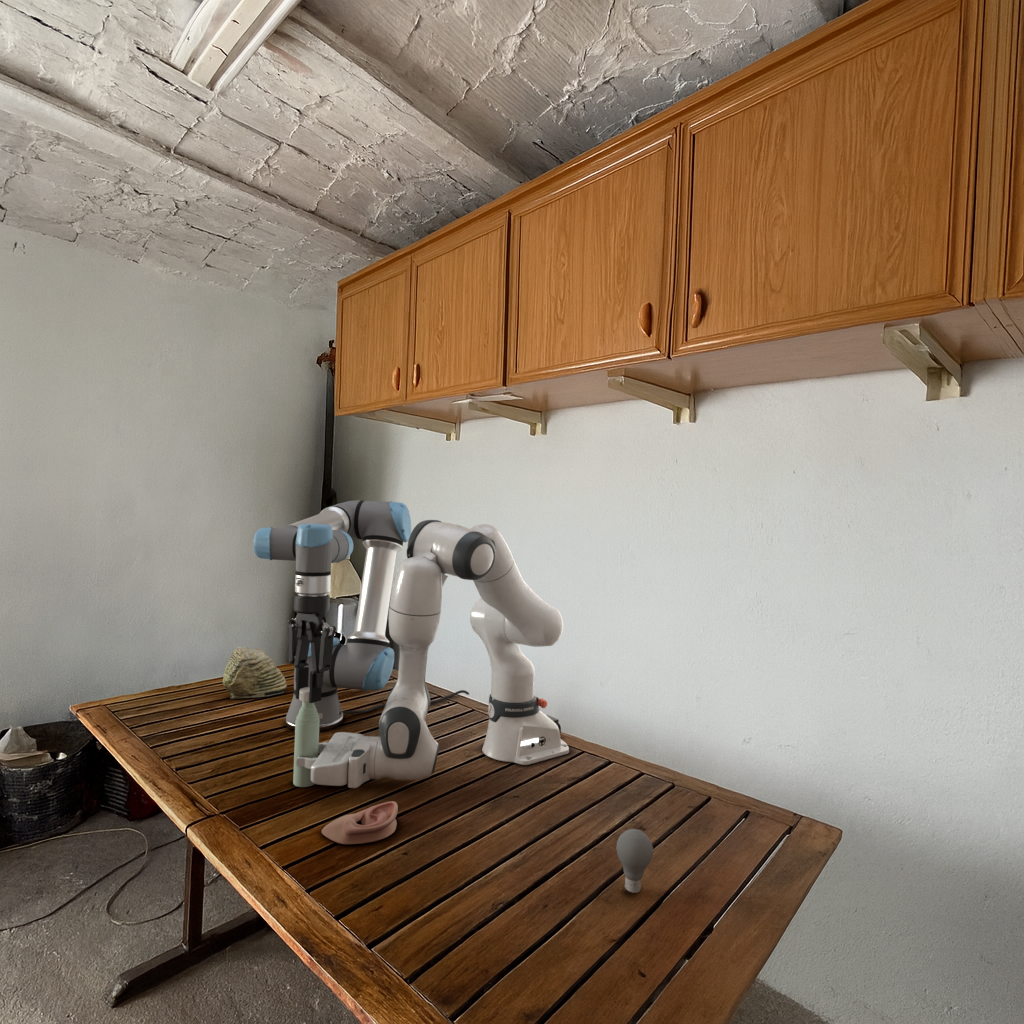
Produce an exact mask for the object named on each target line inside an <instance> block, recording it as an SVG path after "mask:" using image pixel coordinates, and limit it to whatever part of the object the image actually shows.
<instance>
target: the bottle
mask: <svg viewBox="0 0 1024 1024" xmlns="http://www.w3.org/2000/svg"><path fill="white" fill-rule="evenodd" d="M315 707H316V706H315V705H314V703H309V701H307V702H306V701H302V706H301V709H300V710H299V713H298V716H297V717H296V721H295V730H294V748H293V749H294V750H293V752H294V753H293V755H294V756H293V775H292V776H293V777H292V784H293V785H294V786H295V787H298V788H309V787H312V786H314V785H316V784H315V783H313V782H311V770H310V769H308V768H306V767H300V766H297V765H296V764H297V759H298V757H299V756H307V758H312V759H313V758H318V756H319V753H318V748H319V743H320V731H319V721H320V719H319V715H318V712H317V709H316V708H315Z"/></svg>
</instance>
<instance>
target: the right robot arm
mask: <svg viewBox="0 0 1024 1024" xmlns="http://www.w3.org/2000/svg"><path fill="white" fill-rule="evenodd" d="M448 575H449V576H453V577H458V578H459V579H462V580H464V581H465V580H466V581H473V583H474V586H475V587H476V590H477V592H478V594H479V597H480V598H479V599H478V600H476V601H475V602H474V604H473V605H472V608H471V610H470V614H469V623H470V626H471V628H472V631H473V632H474V633H476V635H477V636H478V637H479V638H480V640H481V641H482V644H484V647H485V649H486V652H487V654H488V658H489V662H490V675H491V676H490V679H491V681H490V685H491V686H490V694H489V696H488V708H487V711H488V714H487V715H488V722H487V730H486V734H485V738H484V741H483V745H482V748H481V751H482V753H483V754H484V755H485V756H487V757H489V758H491V759H493V760H497V761H501V762H509V763H515V764H518V765H522V766H528V765H532V764H536V763H539V762H540V763H541V762H544V761H547V760H550V759H553V758H557V757H561V756H564V755H568V754H569V753H570V748H569V745H568V744H567V743H566V742H565V741H564V740H563V739H562V738H561V736H562V727H561V724H560V723H559V718H556V717H553V716H551V715H549V714H546V713H544V712H543V711H541V709H540V708H542V709H546V708H547V707H548V701H547V700H545V699H544V698H539V697H538V696H537V695H535V681H536V680H535V679H536V669H535V666H534V664H533V661H531V660H530V659H529V658H528V657H527V656H525V654H524V653H523V652H522V650H521V647H520V645H522V646H526V647H527V646H529V647H534V648H537V647H538V648H539V647H540V648H543V647H552V646H554V645H555V644H556V643H558V641H559V640H560V638H561V637H562V634H563V631H564V620H563V616H562V614H561V612H560V610H559V609H558V608H556V607H555V606H552V605H551V604H549V603H547V602H546V601H545V600H544V599H542V598H541V596H539V595H538V594H537V593H536V592H534V590H533V589H532V588H531V587H530V586H529V585H528V584H527V582H526V581H525V580H524V578H523V576H522V574H521V572H520V569H519V567H518V565H517V562H516V560H515V559H514V556H513V553H512V551H511V549H510V547H509V545H508V544H507V542H506V540H505V538H504V537H503V535H502V533H500V531H499V530H498V529H497V528H496V527H495V526H493V525H490V524H488V523H487V524H485V523H482V524H477V525H474V526H472V527H471V528H468V527H466V526H462V525H460V524H457V523H456V524H454V523H450V522H445V521H444V522H443V521H441V520H438V519H426V520H422V521H419V522H418V523H417V524H416V525H415V526H414V528H413V529H412V530H411V535H410V537H409V541H408V542H407V548H406V559H404V560H403V561H402V562H401V563H400V564H399V565H398V568H397V570H396V573H395V577H394V580H393V583H392V588H391V595H390V602H389V609H388V632H389V636H390V638H391V639H392V641H393V642H394V643H395V644H396V645H398V646H399V663H398V672H397V679H396V681H395V683H394V685H393V686H392V687H391V690H390V692H389V693H388V697H387V700H386V703H385V704H386V705H385V707H383V710H382V712H381V715H380V717H379V721H378V731H379V732H378V733H379V736H370V735H364V734H363V733H362V734H361V733H356V732H348V731H347V732H346V731H339V732H338V731H337V732H335V733H334V734H333V735H332V736H331V738H330V739H329V741H323V742H319V748H318V758H313V759H312V758H307V756H299V757H298V759H297V764H296V765H297V766H300V767H306V768H308V769H310V770H311V782H313V783H315V784H314V785H320V786H331V787H342V786H345V785H347V788H349V789H357V788H359V787H360V786H361V785H362V784H364V783H366V782H368V781H370V780H380V779H385V778H386V779H391V780H395V781H418V780H426V779H428V778H430V777H431V776H432V775H433V774H434V773H435V769H436V766H437V761H438V757H439V753H440V752H439V751H440V745H439V742H437V741H436V739H435V738H434V736H433V735H432V733H431V731H430V729H429V727H428V725H427V721H426V718H427V715H428V713H429V711H430V708H431V704H430V701H431V695H430V692H429V689H428V686H427V682H426V674H427V673H426V672H427V663H428V653H429V649H430V647H431V645H432V643H433V642H434V641H435V639H436V635H437V632H438V629H439V625H440V620H441V615H442V605H443V588H444V585H445V582H446V580H447V578H448V577H449V576H448ZM560 733H561V734H560Z"/></svg>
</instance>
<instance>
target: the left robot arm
mask: <svg viewBox="0 0 1024 1024" xmlns="http://www.w3.org/2000/svg"><path fill="white" fill-rule="evenodd" d="M411 533H412V518H411V515H410V510H409V508H408V506H407V505H406V504H405V503H403V502H400V501H399V502H397V501H392V500H389V501H385V500H383V501H382V500H380V501H379V500H362V499H356V500H355V499H354V500H348V501H344V502H340V503H337V504H333V505H330V506H328V507H325V508H323V509H322V510H321V511H320V512H319V513H318V514H315V515H313V516H310V517H307V518H304V519H302V520H298V521H295V522H293V523H290V524H287V525H284V526H281V527H273V526H270V527H261V528H259V529H257V531H256V532H255V534H254V536H253V540H252V541H253V542H252V543H253V544H252V545H253V547H252V548H253V553H254V554H255V556H256V557H257V558H258V559H263V560H269V561H290V562H291V561H295V572H294V574H295V576H294V577H295V579H294V592H295V593H296V594H295V595H294V596H293V598H294V599H293V611H294V612H295V613H296V616H295V618H291V619H288V620H287V621H286V624H287V629H288V663H289V665H293V667H294V670H293V671H294V672H293V695H292V696H293V697H292V699H291V702H290V704H289V708H288V711H287V713H286V715H285V726H286V728H287V729H289V730H291V731H295V721H296V717H297V716H298V713H299V710H300V709H301V706H302V701H301V700H299V691H300V689H301V688H305V687H310V690H309V703H314V705H315V706H316V707H315V708H316V709H317V712H318V715H319V719H320V721H319V732H325V731H329V730H332V729H335V728H337V727H339V726H340V725H342V723H343V722H344V715H352V714H353V715H355V714H365V713H369V712H372V711H374V710H376V709H380V708H385V705H386V703H382V704H377V705H374V706H373V707H370V708H367V709H362V710H343V709H342V706H341V702H340V699H339V695H338V689H348V690H360V691H366V692H368V691H380V690H382V689H383V688H384V687H385V686H386V685H387V684H388V682H389V680H390V678H391V675H392V673H393V670H394V664H395V651H394V649H393V648H391V647H390V640H389V639H388V638H387V637H386V632H387V631H386V630H387V622H388V617H389V606H390V599H391V593H392V588H393V582H394V580H393V579H394V572H395V566H396V559H397V554H398V553H399V552H400V551H402V550H403V547H404V546H403V545H404V543H408V541H409V537H410V535H411ZM353 540H362V546H363V547H364V548H365V550H366V552H365V558H364V565H363V571H362V578H361V584H360V591H359V597H358V602H357V603H358V604H357V611H356V617H355V624H354V628H353V629H354V630H353V632H352V633H351V634H350V635H349V636H348V637H347V638H346V644H341V641H340V639H339V638H338V637H334V636H335V634H336V631H337V627H336V625H330V624H329V623H328V619H327V613H328V612H329V611H330V607H331V606H330V605H331V596H330V594H329V593H331V587H332V585H331V582H332V564H334V563H338V564H339V563H340V562H341V563H342V562H343V561H344V560H347V559H348V558H349V557H351V555H352V553H353V551H354V541H353ZM463 693H464V694H466V695H467V696H468V695H470V692H469V691H467V690H464V689H462V690H461V689H460V690H458V691H455V692H453V693H451V694H448V695H445V696H443V697H440V698H438V699H433V700H430V705H431V704H436V703H439V702H442V701H444V700H447V699H449V698H452V697H455V696H457V695H459V694H463Z"/></svg>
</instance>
